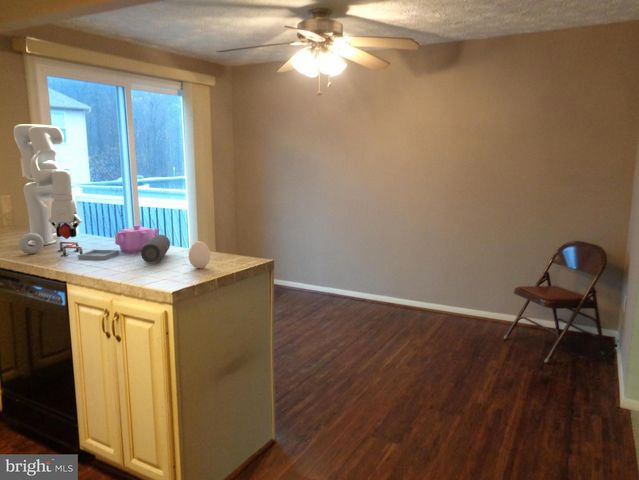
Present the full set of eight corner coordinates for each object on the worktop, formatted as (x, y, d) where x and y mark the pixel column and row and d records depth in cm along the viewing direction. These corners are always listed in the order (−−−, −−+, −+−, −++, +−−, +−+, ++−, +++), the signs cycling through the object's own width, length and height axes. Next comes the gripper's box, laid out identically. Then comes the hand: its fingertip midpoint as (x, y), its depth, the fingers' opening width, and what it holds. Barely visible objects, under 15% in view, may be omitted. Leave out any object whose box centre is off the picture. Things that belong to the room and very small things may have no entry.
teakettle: (114, 253, 217) (112, 227, 215) (126, 246, 234) (125, 222, 232) (151, 253, 218) (149, 227, 216) (161, 246, 235) (159, 222, 233)
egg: (186, 270, 187) (184, 243, 185) (192, 265, 196) (191, 239, 193) (207, 271, 187) (206, 243, 185) (213, 265, 195) (212, 239, 193)
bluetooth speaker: (163, 265, 195) (161, 242, 193) (140, 266, 194) (138, 242, 192) (172, 254, 217) (171, 233, 216) (151, 254, 216) (150, 233, 214)
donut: (21, 256, 210) (19, 234, 209) (19, 255, 213) (16, 233, 211) (45, 252, 218) (43, 231, 216) (43, 251, 220) (40, 231, 218)
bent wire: (60, 250, 224) (59, 241, 223) (98, 250, 223) (97, 241, 222) (42, 256, 211) (41, 246, 210) (82, 257, 210) (81, 247, 209)
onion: (63, 237, 216) (61, 220, 214) (76, 237, 216) (74, 220, 215) (57, 240, 210) (55, 222, 209) (70, 240, 211) (69, 222, 209)
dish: (93, 253, 217) (93, 249, 217) (118, 254, 216) (118, 250, 216) (78, 259, 205) (78, 255, 205) (105, 259, 204) (104, 255, 204)
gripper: (39, 198, 207) (43, 237, 210) (76, 198, 206) (79, 238, 209) (50, 196, 214) (54, 235, 217) (85, 197, 213) (89, 235, 216)
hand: (66, 236), depth 213 cm, fingers closed on onion, 5 cm apart
